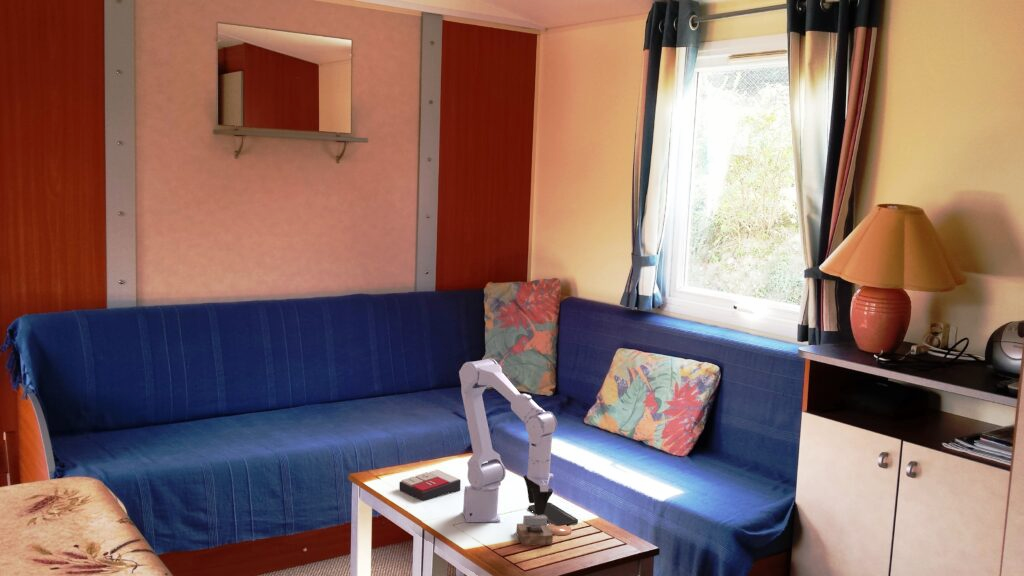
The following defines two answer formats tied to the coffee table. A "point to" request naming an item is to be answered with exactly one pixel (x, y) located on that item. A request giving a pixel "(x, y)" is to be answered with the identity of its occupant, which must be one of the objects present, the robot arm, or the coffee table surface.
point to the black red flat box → (430, 485)
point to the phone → (556, 515)
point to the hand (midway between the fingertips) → (536, 508)
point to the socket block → (534, 535)
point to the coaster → (559, 529)
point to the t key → (535, 522)
